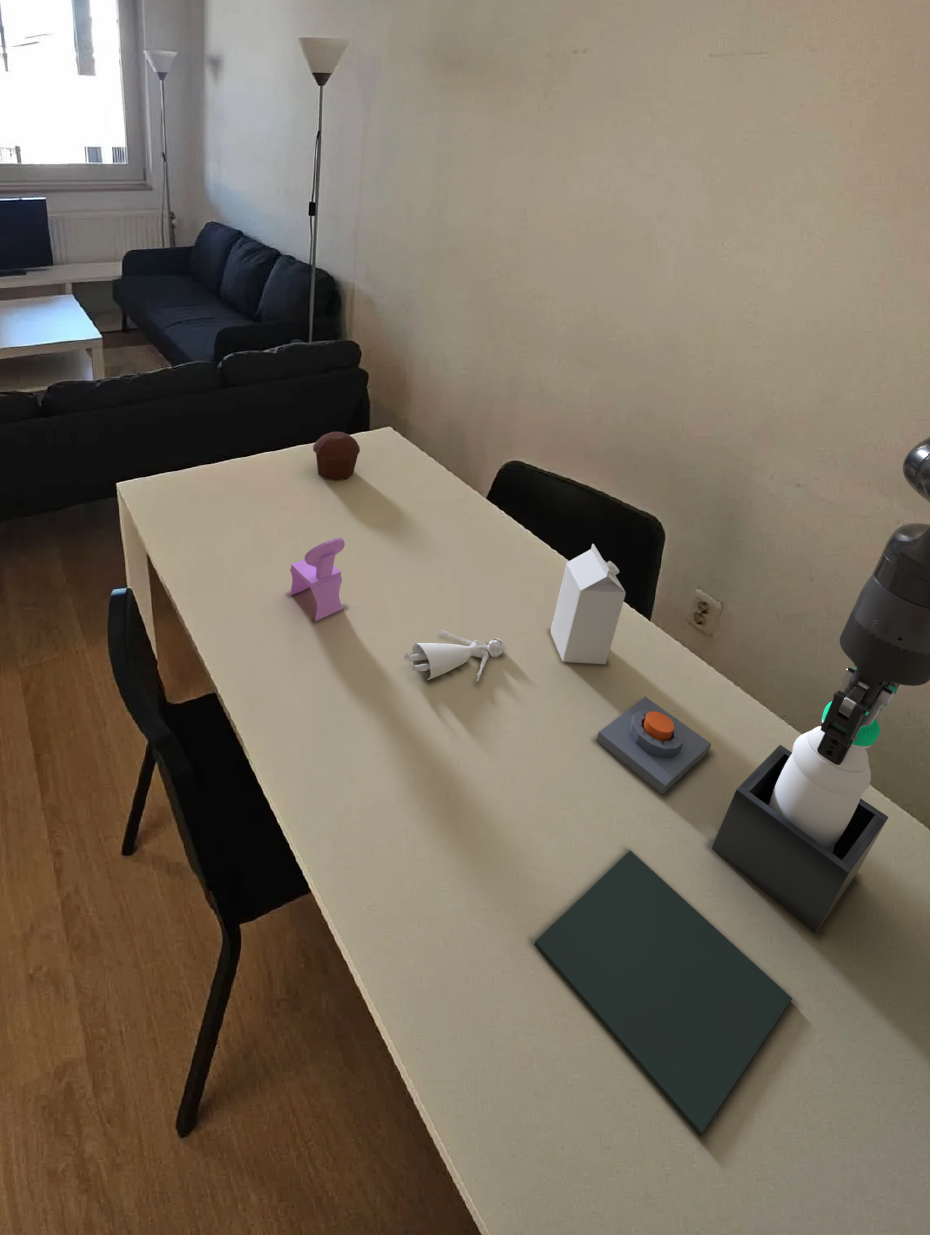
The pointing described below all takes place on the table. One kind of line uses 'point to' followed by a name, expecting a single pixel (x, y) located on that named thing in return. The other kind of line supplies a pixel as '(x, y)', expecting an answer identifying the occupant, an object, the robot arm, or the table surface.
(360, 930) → the table surface
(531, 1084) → the table surface
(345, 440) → the muffin
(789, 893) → the dark grey storage bin
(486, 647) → the woman figurine
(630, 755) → the control block
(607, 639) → the milk carton
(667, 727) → the button
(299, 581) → the toy chair
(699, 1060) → the mat
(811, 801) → the water bottle
